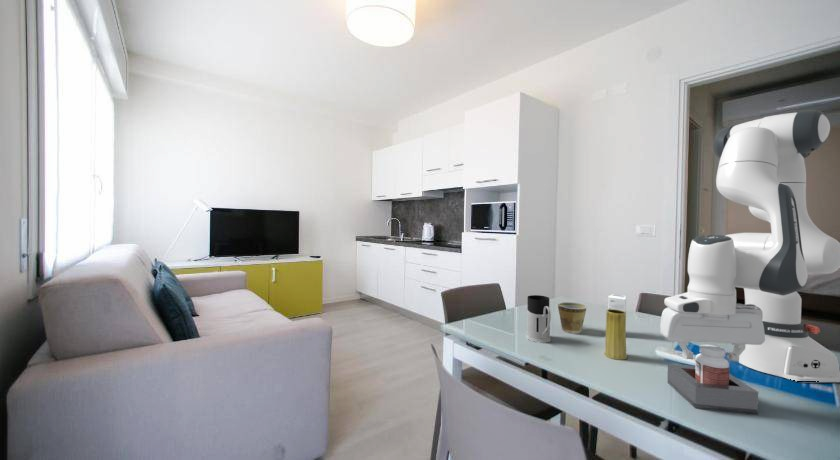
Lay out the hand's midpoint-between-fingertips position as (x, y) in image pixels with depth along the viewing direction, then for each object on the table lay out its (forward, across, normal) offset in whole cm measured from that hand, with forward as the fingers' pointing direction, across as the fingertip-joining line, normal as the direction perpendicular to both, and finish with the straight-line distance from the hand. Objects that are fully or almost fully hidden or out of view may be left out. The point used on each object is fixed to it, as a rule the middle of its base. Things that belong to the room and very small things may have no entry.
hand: (710, 359), depth 80 cm
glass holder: (+9, +34, -31) cm, 47 cm away
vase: (+9, +13, -22) cm, 27 cm away
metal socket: (+9, 0, 0) cm, 9 cm away
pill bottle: (+8, 0, 0) cm, 8 cm away
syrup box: (+10, +5, -44) cm, 45 cm away
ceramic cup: (+10, +21, -46) cm, 51 cm away
